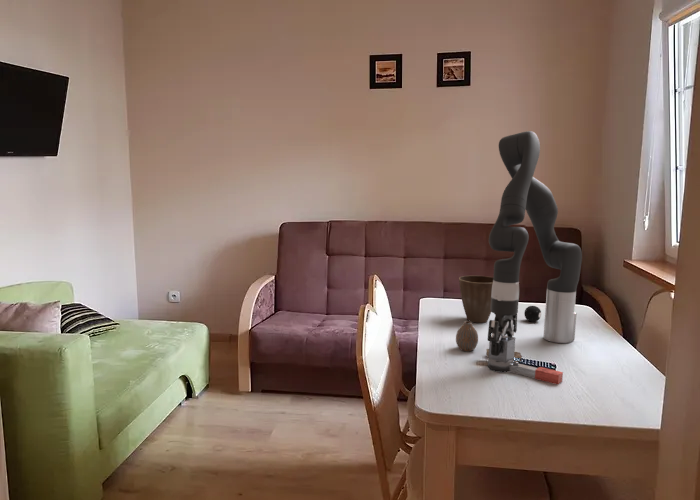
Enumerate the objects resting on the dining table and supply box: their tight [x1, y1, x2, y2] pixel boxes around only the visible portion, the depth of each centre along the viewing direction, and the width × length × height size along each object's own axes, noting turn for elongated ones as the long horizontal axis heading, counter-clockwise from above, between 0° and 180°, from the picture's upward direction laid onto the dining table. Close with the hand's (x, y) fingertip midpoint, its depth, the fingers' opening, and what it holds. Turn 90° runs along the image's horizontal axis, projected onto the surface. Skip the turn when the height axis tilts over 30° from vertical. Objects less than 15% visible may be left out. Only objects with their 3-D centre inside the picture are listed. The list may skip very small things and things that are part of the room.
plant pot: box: [458, 275, 493, 324], centre depth 216 cm, size 15×15×16 cm
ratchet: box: [487, 357, 564, 386], centre depth 161 cm, size 7×21×6 cm, turn 51°
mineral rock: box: [485, 348, 523, 359], centre depth 174 cm, size 11×4×8 cm
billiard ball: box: [524, 305, 542, 323], centre depth 217 cm, size 6×6×6 cm
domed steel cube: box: [487, 334, 516, 362], centre depth 165 cm, size 5×5×7 cm
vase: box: [455, 321, 479, 352], centre depth 182 cm, size 7×7×9 cm
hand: (501, 351), depth 165 cm, fingers open, 8 cm apart
